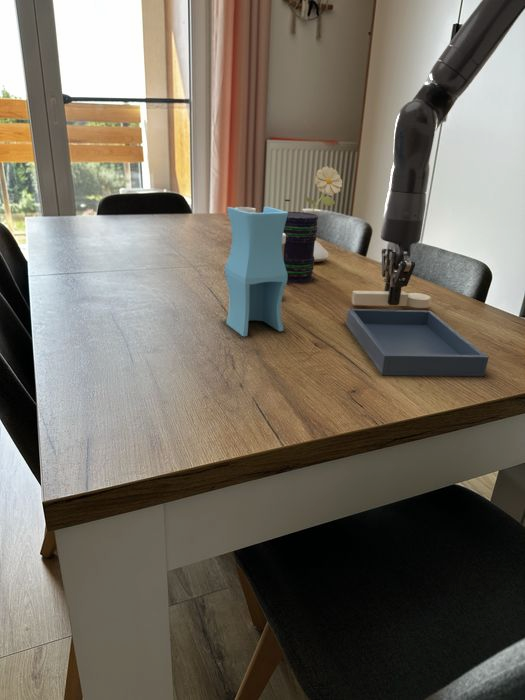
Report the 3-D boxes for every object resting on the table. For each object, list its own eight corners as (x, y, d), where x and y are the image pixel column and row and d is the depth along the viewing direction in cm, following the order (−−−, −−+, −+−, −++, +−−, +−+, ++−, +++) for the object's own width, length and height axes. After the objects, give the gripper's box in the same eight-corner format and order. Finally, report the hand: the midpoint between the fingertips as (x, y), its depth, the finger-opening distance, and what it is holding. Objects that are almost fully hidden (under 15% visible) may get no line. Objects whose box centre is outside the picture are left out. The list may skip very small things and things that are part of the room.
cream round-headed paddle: (423, 301, 108) (425, 290, 107) (433, 308, 104) (435, 297, 103) (349, 299, 107) (350, 288, 106) (355, 307, 102) (357, 295, 101)
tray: (427, 326, 96) (430, 310, 94) (484, 376, 76) (488, 357, 75) (346, 324, 94) (347, 308, 93) (381, 375, 74) (384, 355, 73)
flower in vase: (288, 264, 138) (296, 165, 128) (285, 255, 148) (292, 163, 139) (337, 266, 138) (347, 168, 129) (330, 257, 149) (339, 166, 139)
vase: (262, 317, 96) (268, 206, 88) (283, 330, 89) (292, 212, 82) (223, 321, 92) (226, 206, 84) (243, 336, 86) (248, 213, 78)
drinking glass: (229, 238, 167) (230, 207, 164) (245, 237, 172) (246, 206, 168) (242, 242, 163) (244, 210, 159) (258, 240, 167) (260, 209, 163)
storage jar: (319, 278, 125) (327, 201, 118) (300, 285, 118) (306, 204, 111) (285, 270, 130) (290, 197, 123) (263, 278, 123) (268, 200, 116)
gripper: (436, 222, 92) (421, 313, 99) (409, 211, 105) (397, 293, 112) (396, 220, 92) (383, 312, 98) (374, 210, 105) (363, 292, 111)
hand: (390, 302), depth 105 cm, fingers closed on cream round-headed paddle, 2 cm apart
